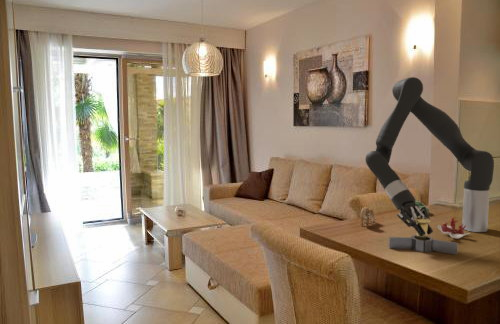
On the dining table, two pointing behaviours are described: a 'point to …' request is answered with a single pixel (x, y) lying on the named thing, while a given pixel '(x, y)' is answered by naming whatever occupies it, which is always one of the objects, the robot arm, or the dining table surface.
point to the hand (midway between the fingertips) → (427, 233)
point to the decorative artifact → (421, 205)
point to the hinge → (423, 244)
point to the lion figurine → (366, 215)
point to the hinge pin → (424, 225)
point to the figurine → (453, 229)
